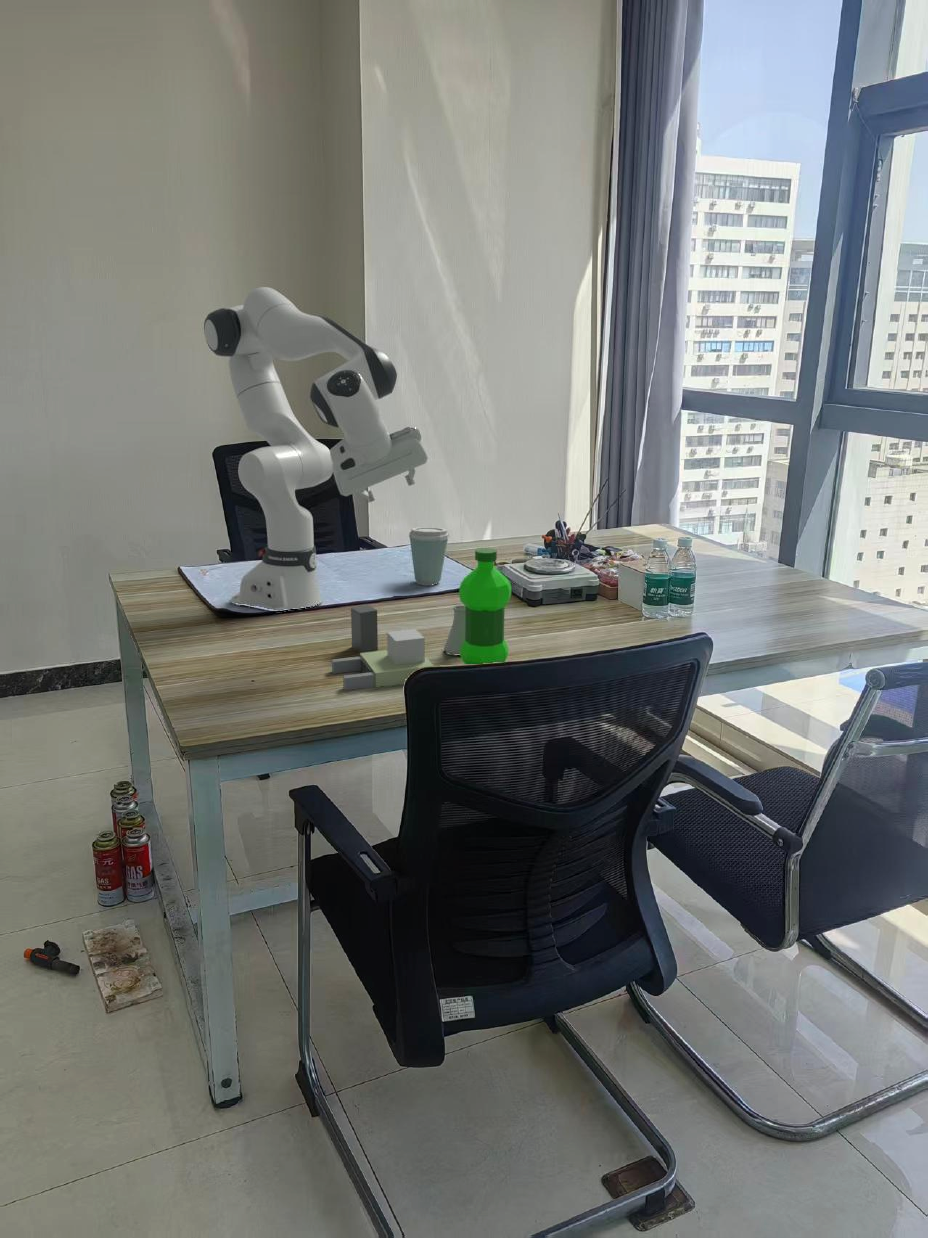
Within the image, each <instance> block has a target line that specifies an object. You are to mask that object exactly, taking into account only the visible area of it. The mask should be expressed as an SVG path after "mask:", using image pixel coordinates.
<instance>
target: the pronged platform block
mask: <svg viewBox="0 0 928 1238" xmlns="http://www.w3.org/2000/svg"><path fill="white" fill-rule="evenodd" d="M425 639H426V638H425V637H424V636H423V635H422V634H421V632H419V631H418V629H416V628H411V629H401V630H392V631H387V632H386V641H387V644H386V646H387V647H386V648H387V650H386V649H385V650H375V651H370V652H365V653H360V652H359V656H352V657H344V658H343V657H341V658H335V659H331V672H332V673H333V675H335V674H343V673H351V672H358V671H359V672H360V671H361V672H362V673H356V674H354V673H353V674H346V675H343V676H342V686H343V689H344V691H351V690H352V689H353V690H358V688H361V689H367V688H381V687H380V686H384V687H391V686H398V684H400V685H404V684H403V683H404V682H405V679H406V678H408V676H409V675H411V673H412V672H413V671H415V670H417V669H419V668H421V667H427V666H434V667H435V665H434V664H433V663H432V662H431V660H429V659H428V658H427V657H426V655H425V654H426V653H425V652H426V647H425V644H426V643H425V642H426V640H425ZM374 686H376V687H374Z"/></svg>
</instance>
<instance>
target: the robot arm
mask: <svg viewBox="0 0 928 1238" xmlns="http://www.w3.org/2000/svg"><path fill="white" fill-rule="evenodd" d="M203 331H204V332H203V333H204V337H205V341H206V343H207V345H208V348H209V349H210V350H211V352H213V353H214V355H216V356H218V357H229V359H228V367H229V368H228V369H229V375H230V379H231V383H232V387H233V390H234V394H235V396H236V400H237V402H238V405H239V407H240V410H241V413H242V415H243V418H244V421H245V423H246V426H247V429H249V431H251V433H252V434H255V435H257V436H259V437H260V438H262V440H263V439H264V441H266V442H267V443H268V445H269V446H263V447H259V448H256V449H254V450H251V451H249V452H247V453H245V454H243V455H242V457H241V458H240V460H239V462H238V463H239V464H238V468H237V469H238V470H237V473H238V478H239V482H241V484H242V486H243V488H245V490H247V492H248V493H250V494H251V495H253V496H254V497H255V499H257V501H258V502H259V505H260V507H261V509H262V512H263V514H264V517H265V525H266V533H267V536H266V537H267V546H266V547H264V548H262V549H261V550H259V551H258V553H259V554H258V557H260V556H262V559H261V561H260V562H259V563H257V564H256V565H255V566H253V568H252V569H250V570H249V571H248V572H246V574H244V575H243V577H242V578H241V581H240V586H239V591H238V592H236V593H235V594H234V595H233V596H232V597H231V599H230V602H231V601H232V602H234V603H238V604H247V605H250V606H259V607H264V608H267V609H273V610H278V611H280V610H284V609H293V608H301V607H305V609H307V608H306V607H310V606H313V607H316V606H318V605H321V604H322V602H323V601H322V600H323V597H322V594H321V591H320V588H319V583H318V577H317V572H316V569H317V551H316V550H317V549H316V548H317V547H316V545H315V544H314V543H315V542H314V521H313V520H314V518H313V515H312V513H311V512H310V511H309V510H308V509H306V508H305V507H303V505H302V506H301V505H300V504H299V502H298V500H297V498H296V490H301V489H307V488H313V487H316V486H318V485H320V484H322V483H325V482H326V481H328V480H329V479H330V478H331V477H332V475H333V477H334V480H335V483H336V486H337V489H338V492H339V494H340V495H341V496H344V497H349V496H350V495H353V494H356V493H358V495H360V496H361V497H363V498H365V499H366V500H367V502H368V503H372V502H373V501H375V500H376V499H375V497H374V495H373V493H372V490H368V491H367V490H366V489H368V488H370V487H372V486H375V485H376V484H379V483H381V482H382V483H383V482H384V481H387V480H388V479H391V478H394V477H396V476H399V475H401V474H403V473H406V472H408V473H407V474H406V475H404V478H405V480H406V483H407V484H408V487H410V486H413V485H415V483H416V482H415V481H414V477H415V474H416V469H415V468H418V467H421V466H423V465H425V464H426V463H427V461H428V459H429V457H428V455H427V453H426V450H425V448H424V446H423V444H422V441H421V440H422V435H421V433H420V429H418V428H416V427H410V426H408V427H404V428H402V429H401V430H398V431H394V432H393V433H390V432H389V430H388V427H387V425H386V423H385V420H384V419H382V417H381V416H380V408H379V406H378V403H377V400H381V399H383V398H385V397H386V396H388V395H391V394H392V393H393V391H394V389H395V386H396V383H397V378H398V373H397V370H396V367H395V365H394V364H393V363H392V361H391V359H390V358H389V357H388V356H387V355H386V354H385V353H384V352H382V350H379V349H377V348H376V347H372V346H370V345H368V344H367V343H366V342H365V341H363V340H361V339H360V338H358V337H357V336H356V335H354V334H353V333H352V332H350V331H348V330H347V329H346V328H344V327H343V326H341V325H340V324H339V323H337V322H335V321H334V320H332V319H330V318H328V317H327V316H319V315H318V316H316V315H312V314H309V313H305V312H303V311H301V310H299V309H298V307H297V306H295V305H294V303H293V302H291V300H289V299H288V298H287V297H286V296H285V295H283V294H281V293H280V292H279V291H277V290H276V289H274V288H272V287H268V286H261V287H258V288H254V289H253V290H252V291H250V292H249V293H248V294H247V296H246V297H245V299H244V303H243V304H239V305H234V306H231V307H227V308H225V307H224V308H223V307H221V308H218V309H216V310H213V311H211V312H210V313H208V314H207V316H206V318H205V319H204V323H203ZM326 353H336V354H338V355H340V356H341V357H343V358H345V360H347V362H345V363H343V364H342V365H340V366H339V367H336V368H334V369H332V370H331V371H329V372H328V373H325V374H324V375H322V376H321V377H319V378H318V379H316V380H315V381H313V382H312V385H311V387H310V392H309V398H310V400H311V403H312V405H313V406H314V409H315V412H316V413H317V415H318V418H320V420H321V421H322V422H323V423H324V424H325V425H328V426H331V427H333V428H338V429H339V428H340V429H341V430H342V432H343V434H344V438H343V439H341V440H340V441H339V442H337V443H336V444H335V445H334V446H333V447H331V448H330V449H329V448H328V447H327V446H326V445H325V444H323V443H321V441H320V442H319V441H318V440H317V439H316V438H314V437H313V436H312V435H310V434H309V432H307V430H306V429H305V428H304V427H303V425H302V424H300V422H299V420H298V419H297V418H296V416H295V414H294V412H293V410H292V408H291V405H290V404H289V401H288V398H287V396H286V393H285V390H284V388H283V385H282V382H281V380H280V377H279V375H278V373H277V371H276V369H275V366H274V361H273V360H274V357H275V358H277V359H278V360H281V361H286V362H296V361H297V362H298V361H300V360H304V359H307V358H309V357H313V356H316V355H320V354H326ZM317 604H318V605H317ZM315 605H316V606H315ZM310 608H311V607H310Z"/></svg>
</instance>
